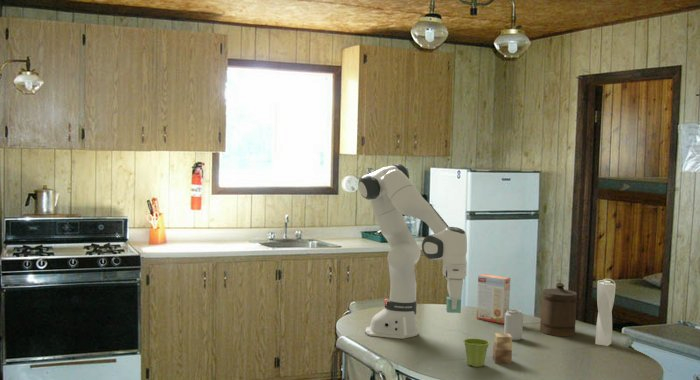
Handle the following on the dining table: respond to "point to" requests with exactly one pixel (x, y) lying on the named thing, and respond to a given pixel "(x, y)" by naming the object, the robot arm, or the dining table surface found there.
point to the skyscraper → (604, 311)
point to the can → (514, 324)
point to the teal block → (449, 304)
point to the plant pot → (476, 351)
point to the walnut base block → (502, 356)
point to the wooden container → (558, 311)
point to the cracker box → (493, 298)
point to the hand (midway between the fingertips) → (453, 307)
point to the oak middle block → (503, 341)
